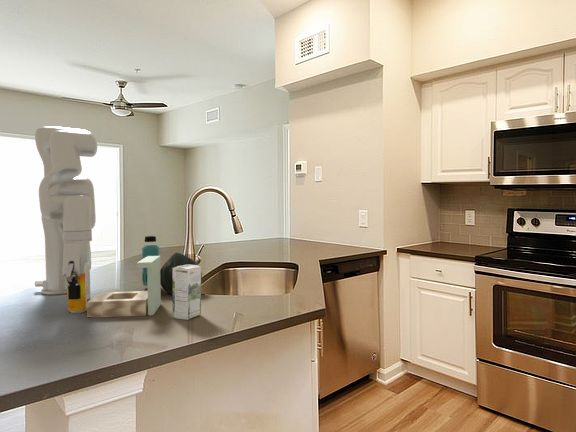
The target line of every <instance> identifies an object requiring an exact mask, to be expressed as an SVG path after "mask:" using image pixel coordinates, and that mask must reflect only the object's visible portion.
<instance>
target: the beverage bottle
mask: <svg viewBox="0 0 576 432" xmlns="http://www.w3.org/2000/svg"><path fill="white" fill-rule="evenodd" d="M144 242H145V243H154V242H157V237H156V235H155V236H154V235H147V236H144ZM141 253H142V255H141V260H142V259H144V258H145V257H147V256H160V246H158V245H157V244H145V245H143V246H142V248H141ZM141 270H142V273H141V274H142V275H141V276H142V277H141V280H142V285H143V286H144V287H148V285H147V268H141Z"/></svg>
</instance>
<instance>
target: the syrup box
mask: <svg viewBox="0 0 576 432" xmlns="http://www.w3.org/2000/svg"><path fill="white" fill-rule="evenodd" d="M201 273H202V267H201V265H199V266H197V265H183V266H178V267H174V268H173V294H172V318H173V319H179V320H186V321H190V320H192V319H195V318H197V317H199V316H201V314H202V309H201V308H202V280H201Z"/></svg>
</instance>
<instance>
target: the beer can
mask: <svg viewBox="0 0 576 432" xmlns="http://www.w3.org/2000/svg"><path fill="white" fill-rule="evenodd" d="M73 275H77V273H76V272H74V273H73ZM73 278H75V280H76V277H73ZM79 285H80V288H81V298H80V299H68V298H67V311H69V313H70V312H71V314H82V313H86V312H87V302H88V301H89V300H91V299H92V298H91V270H90V264H89V262H88V261H86V262H85V265H84V270H83V274H82V275H80V281H79ZM66 294H67V296H68V282H67V293H66ZM85 311H86V312H85ZM81 312H82V313H81Z"/></svg>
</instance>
